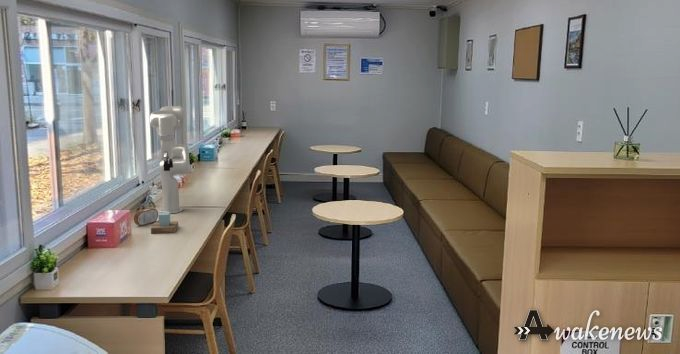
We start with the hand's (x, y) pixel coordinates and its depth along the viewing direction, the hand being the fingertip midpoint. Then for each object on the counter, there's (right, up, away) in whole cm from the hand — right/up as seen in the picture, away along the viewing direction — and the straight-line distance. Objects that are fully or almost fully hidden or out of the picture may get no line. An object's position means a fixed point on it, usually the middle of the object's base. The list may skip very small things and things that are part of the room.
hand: (168, 169), depth 313 cm
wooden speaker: (-13, -31, +3) cm, 33 cm away
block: (+1, -30, -9) cm, 31 cm away
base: (+1, -33, -9) cm, 34 cm away
